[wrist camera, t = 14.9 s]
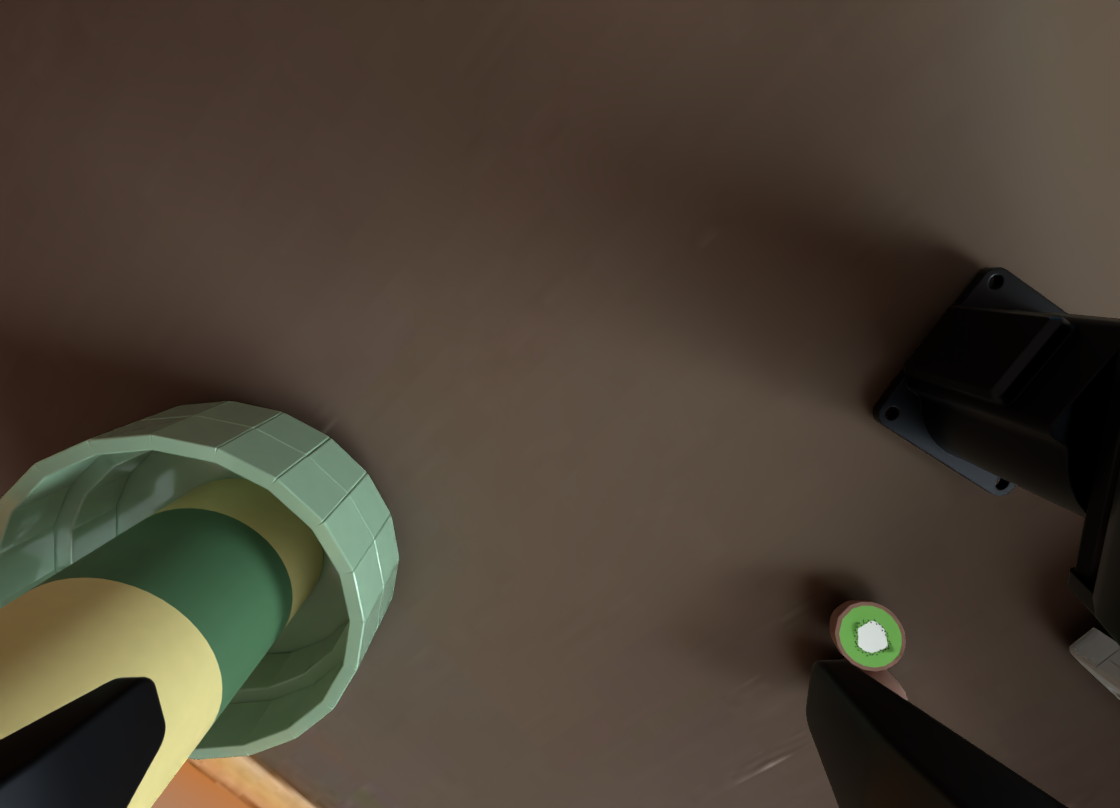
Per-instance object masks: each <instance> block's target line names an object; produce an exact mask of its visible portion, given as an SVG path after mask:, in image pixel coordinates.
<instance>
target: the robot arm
mask: <svg viewBox="0 0 1120 808" xmlns="http://www.w3.org/2000/svg"><path fill="white" fill-rule="evenodd" d="M991 277H993V278H994V283H993V285H992V286H991V287H989V280H990V278H991ZM890 407H892V413H891V414H890V415H889V416H888V417H886V416H885V413H886V411H887V410H888V409H889V408H890ZM872 415H873V418H874V419H875V420H876V421H877V422H878V423H880V424H882V425H883V426H885V427H886V428H888V429H889V430H891V431H893V432H894V433H896V434H897V435H899V436H900V437H902V438H904V439H905V440H907V441H908V442H910V443H911V444H913V445H915V446H916V447H918V448H919V449H921V450H922V451H924V452H926V453H927V454H929V455H930V456H932V457H933V458H935V459H937V460H938V461H940V462H941V463H943V464H944V465H946V466H948V467H949V468H951V469H952V470H954V471H955V472H957V473H959V474H960V475H962V476H963V477H965V478H966V479H968V480H970V481H971V482H973V483H974V484H976V485H977V486H979V487H981V488H982V489H984V490H985V491H987V492H989V493H991V494H993V495H996V496H1003V495H1006V494H1008V493H1009V492H1010V491H1011V490H1012V489H1013V488H1014V487H1015V486H1016V485H1017V486H1019V487H1021V488H1023V489H1026V490H1028V491H1030V492H1032V493H1034V494H1036V495H1038V496H1040V497H1042V498H1044V499H1047V500H1049V501H1051V502H1053V503H1055V504H1057V505H1059V506H1061V507H1063V508H1066V509H1068V510H1070V511H1072V512H1074V513H1076V514H1078V515H1080V516H1082V517H1085V521H1084V526H1083V531H1082V536H1081V541H1080V546H1079V551H1078V556H1077V561H1076V566H1075V567H1073V568H1070V571H1069V576H1068V581H1067V587H1068V588H1069V589H1070V590H1071V591H1072V593H1073V594H1074V595H1075V596H1076V597H1077V598H1078V599H1079V600H1080V601H1081V602H1082V603H1083V604H1084V605H1085V606H1086V608H1087V609H1088V610H1089V611H1090V612H1091V613H1092V614H1093V615H1094V616H1095V617H1096V619H1097V620H1098V621H1099V622H1100V623H1101V625H1102V626H1103V627H1104V628H1105V629H1106V631H1107V632H1108V633H1109V634H1110V635H1111V637H1112V638H1113V639H1114V640H1115V641H1116V642H1117V644H1118V645H1119V646H1120V319H1117V318H1106V317H1095V316H1085V315H1074V314H1067V313H1066V312H1064V311H1063V310H1062V309H1060V308H1059V307H1057V306H1056V305H1055V304H1053V303H1052V302H1051V301H1049V300H1048V299H1046V298H1045V297H1044V296H1042V295H1041V294H1039V293H1038V292H1037V291H1035V290H1034V289H1033V288H1031V287H1030V286H1028V285H1027V284H1026V283H1024V282H1023V281H1022V280H1020V279H1019V278H1017V277H1016V276H1015V275H1013V274H1012V273H1010V272H1009V271H1008V270H1006V269H1004V268H1001V267H991V268H985V269H982V270H980V271H979V272H978V273H977V274H976V275H975V277H974V278H973V279H972V280H971V282H970V283H969V284H968V286H967V287H966V288H965V289H964V291H963V292H962V293H961V295H960V296H959V297H958V298H957V300H956V301H955V302H954V304H953V305H952V306H951V307H950V308H948V309H947V310H946V311H945V313H944V314H943V315H942V317H941V318H940V319H939V320H938V322H937V323H936V324H935V326H934V327H933V328H932V329H931V331H930V332H929V333H928V335H927V336H926V337H925V338H924V340H923V341H922V342H921V344H920V345H919V346H918V347H917V349H916V350H915V351H914V353H913V354H912V355H911V356H910V358H909V359H908V360H907V362H906V363H905V365H904V368H903V369H902V370H901V372H900V373H899V374H898V376H897V377H896V378H895V379H894V381H893V382H892V383H891V385H890V386H889V387H888V388H887V390H886V391H885V392H884V394H883V395H882V396H881V397H880V399H879V400H878V401H877V403H876V404H875V406H874V407H873V412H872ZM999 479H1000V481H999V483H998V484H997V485H995V484H996V482H997V481H998V480H999ZM806 716H807V722H808V726H809V729H810V732H811V734H812V737H813V740H814V742H815V745H816V748H817V750H818V753H819V755H820V758H821V761H822V763H823V766H824V769H825V771H826V774H827V777H828V779H829V782H830V784H831V787H832V790H833V792H834V795H835V798H836V800H837V803H838V805H839V808H1068V807H1066V806H1065V805H1063V804H1062V803H1060V802H1059V801H1057V800H1056V799H1054V798H1053V797H1051V796H1050V795H1048V794H1047V793H1045V792H1044V791H1042V790H1041V789H1039V788H1038V787H1036V786H1035V785H1033V784H1032V783H1030V782H1029V781H1027V780H1026V779H1024V778H1023V777H1021V776H1020V775H1018V774H1017V773H1015V772H1014V771H1012V770H1011V769H1009V768H1008V767H1006V766H1005V765H1003V764H1002V763H1000V762H999V761H997V760H996V759H994V758H993V757H991V756H990V755H988V754H987V753H985V752H984V751H982V750H981V749H979V748H978V747H976V746H975V745H973V744H972V743H970V742H969V741H967V740H966V739H964V738H963V737H961V736H960V735H958V734H957V733H955V732H954V731H952V730H951V729H949V728H948V727H946V726H944V725H943V724H941V723H940V722H938V721H937V720H935V719H934V718H932V717H931V716H929V715H928V714H926V713H925V712H923V711H922V710H920V709H919V708H917V707H916V706H914V705H913V704H911V703H910V702H908V701H907V700H905V699H904V698H902V697H901V696H899V695H898V694H896V693H895V692H893V691H892V690H890V689H889V688H887V687H886V686H884V685H883V684H881V683H880V682H878V681H877V680H875V679H874V678H872V677H871V676H869V675H868V674H866V673H865V672H863V671H862V670H860V669H859V668H857V667H856V666H854V665H853V664H851V663H849V662H847V661H845V660H818V661H816V662H814V664H813V665H812V668H811V673H810V681H809V689H808V697H807V705H806ZM165 731H166V724H165V719H164V715H163V711H162V708H161V704H160V700H159V697H158V693H157V689H156V686H155V683H154V682H153V681H152V680H151V679H150V678H147V677H121V678H116V679H113V680H111V681H109V682H107V683H105V684H103V685H101V686H100V687H98V688H96V689H94V690H92V691H90V692H88V693H86V694H85V695H83V696H81V697H79V698H77V699H75V700H73V701H72V702H70V703H68V704H66V705H64V706H62V707H60V708H59V709H57V710H55V711H53V712H51V713H49V714H47V715H45V716H44V717H42V718H40V719H38V720H36V721H34V722H32V723H31V724H29V725H27V726H25V727H23V728H21V729H19V730H18V731H16V732H14V733H12V734H10V735H8V736H6V737H4V738H3V739H1V740H0V808H127V807H128V805H129V803H130V801H131V799H132V798H133V796H134V794H135V792H136V790H137V789H138V787H139V785H140V783H141V781H142V779H143V778H144V776H145V774H146V772H147V770H148V769H149V767H150V765H151V763H152V761H153V760H154V758H155V756H156V754H157V752H158V750H159V749H160V747H161V745H162V742H163V739H164V736H165Z"/></svg>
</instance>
